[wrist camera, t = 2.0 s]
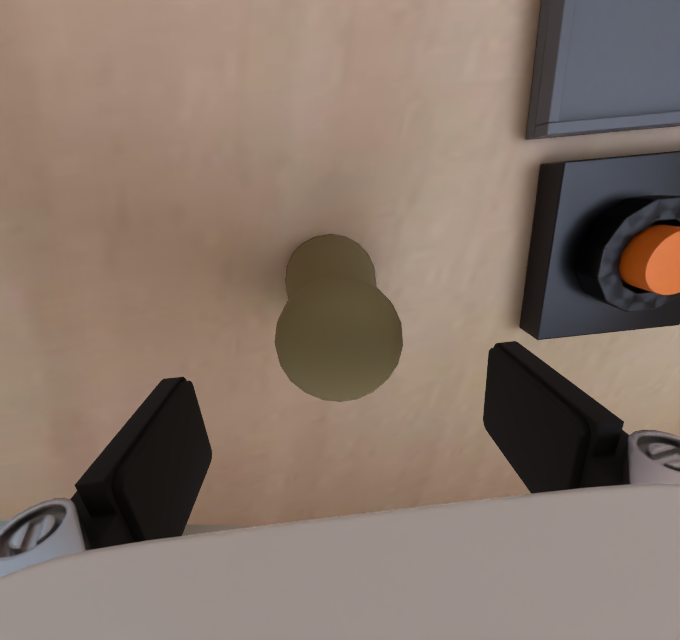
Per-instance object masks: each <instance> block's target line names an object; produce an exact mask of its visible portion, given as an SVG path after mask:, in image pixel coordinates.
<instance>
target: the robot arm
mask: <svg viewBox="0 0 680 640" xmlns="http://www.w3.org/2000/svg"><path fill="white" fill-rule="evenodd" d="M483 422H484V426H485V428H486V430H487V432H488V433H489V435H490V436H491V437H492V439H493V440H494V442H495V443H496V444H497V446H498V447H499V449H500V450H501V452H502V453H503V454H504V456H505V457H506V459H507V460H508V461H509V463H510V464H511V466H512V467H513V468H514V470H515V471H516V473H517V474H518V475H519V477H520V478H521V480H522V481H523V482H524V484H525V485H526V487H527V488H528V489H529V491H530V492H531V494H524V495H515V496H507V497H498V498H489V499H480V500H472V501H463V502H454V503H445V504H437V505H428V506H420V507H411V508H403V509H395V510H386V511H378V512H370V513H361V514H353V515H345V516H337V517H328V518H320V519H312V520H304V521H296V522H288V523H280V524H272V525H264V526H256V527H249V528H241V529H233V530H225V531H217V532H209V533H201V534H193V535H186V536H182V534H183V531H184V529H185V526H186V524H187V521H188V519H189V516H190V513H191V511H192V508H193V506H194V503H195V501H196V498H197V496H198V493H199V491H200V488H201V486H202V483H203V481H204V478H205V475H206V473H207V470H208V468H209V465H210V463H211V459H212V450H211V446H210V443H209V439H208V436H207V432H206V429H205V425H204V422H203V418H202V415H201V411H200V408H199V404H198V401H197V397H196V394H195V390H194V387H193V384H192V382H191V381H187V380H186V379H185V378H184V377H178V378H168V379H163V380H162V381H161V382H160V383H159V384H158V385H157V386H156V388H155V389H154V390H153V391H152V393H151V394H150V395H149V396H148V397H147V399H146V400H145V401H144V402H143V403H142V405H141V406H140V407H139V408H138V409H137V411H136V412H135V413H134V414H133V415H132V417H131V418H130V419H129V420H128V421H127V423H126V424H125V425H124V426H123V427H122V429H121V430H120V431H119V432H118V434H117V435H116V436H115V437H114V438H113V440H112V441H111V442H110V443H109V444H108V446H107V447H106V448H105V449H104V450H103V452H102V453H101V454H100V455H99V456H98V458H97V459H96V460H95V461H94V462H93V464H92V465H91V466H90V467H89V469H88V470H87V471H86V472H85V473H84V475H83V476H82V477H81V478H80V479H79V481H78V482H77V483H76V484H75V487H76V489H77V492H76V493H75V494H74V496H73V497H72V498H71V499H67V498H54V499H51V500H47V501H43V502H41V503H39V504H36V505H34V506H32V507H30V508H28V509H26V510H24V511H23V512H21V513H19V514H18V515H16V516H15V517H13V518H12V519H11V520H9V521H8V522H7V523H5V524H4V525H3V526H2V527H1V528H0V640H680V436H676V435H673V434H670V433H666V432H661V431H656V430H640V431H635V432H633V433H632V434H630V435H628V434H627V433H626V432H624V431H623V430H622V427H623V423H624V421H622V420H621V419H620V418H618V417H617V416H615V415H614V414H613V413H611V412H610V411H609V410H607V409H606V408H605V407H603V406H602V405H601V404H599V403H598V402H597V401H595V400H594V399H593V398H591V397H590V396H589V395H587V394H586V393H585V392H583V391H582V390H581V389H579V388H578V387H577V386H575V385H574V384H573V383H571V382H570V381H569V380H567V379H566V378H565V377H563V376H562V375H561V374H559V373H558V372H557V371H555V370H554V369H553V368H551V367H550V366H549V365H547V364H546V363H545V362H543V361H542V360H541V359H539V358H538V357H537V356H535V355H534V354H533V353H531V352H530V351H529V350H527V349H526V348H525V347H523V346H522V345H521V344H519V343H518V342H516V341H513V342H504V343H496V344H495V346H494V348H491V349H490V350H489V355H488V367H487V379H486V391H485V403H484V415H483Z"/></svg>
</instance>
